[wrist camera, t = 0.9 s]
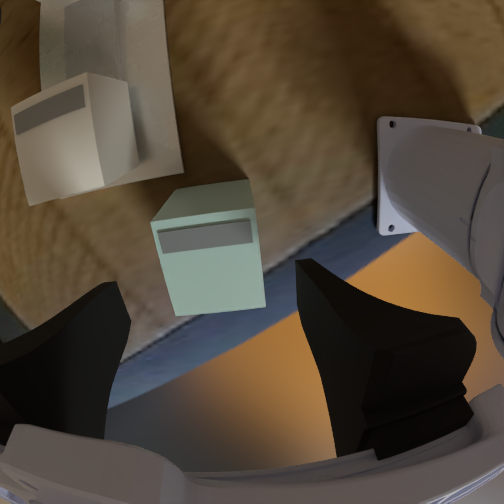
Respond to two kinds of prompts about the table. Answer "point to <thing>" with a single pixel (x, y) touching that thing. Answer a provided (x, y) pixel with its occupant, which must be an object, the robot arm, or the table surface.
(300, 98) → the table surface
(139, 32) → the rail panel
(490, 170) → the robot arm
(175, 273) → the block
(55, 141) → the mounted modules
